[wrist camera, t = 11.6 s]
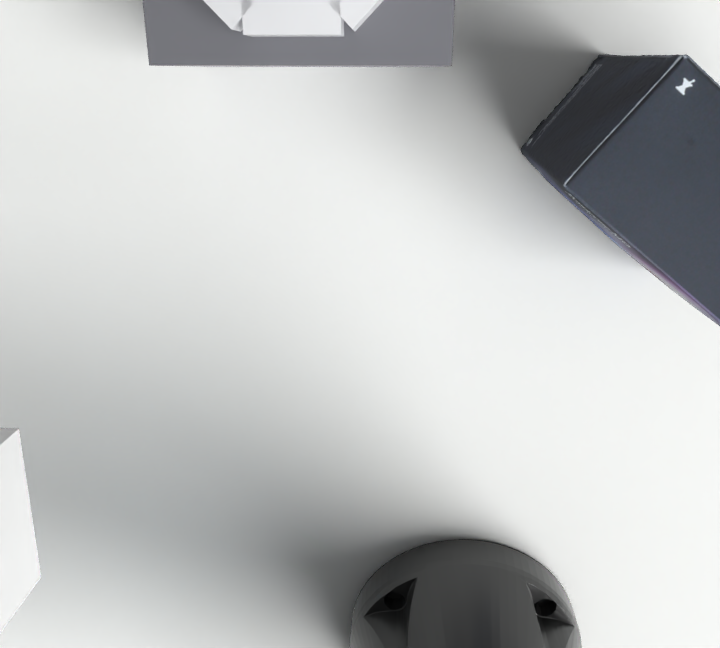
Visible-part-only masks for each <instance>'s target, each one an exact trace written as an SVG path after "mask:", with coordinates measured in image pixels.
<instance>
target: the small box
mask: <svg viewBox="0 0 720 648" xmlns="http://www.w3.org/2000/svg"><path fill="white" fill-rule="evenodd" d="M521 152H522V154H523V155H524V156H525V157H526V158H527V159H528V160H529V162H530V163H531V164H532V165H533V166H534V167H535V168H536V169H537V170H538V171H539V172H540V173H541V175H542V176H543V177H544V178H545V179H546V180H547V181H548V182H549V183H550V184H551V185H552V186H554V187H555V188H556V189H557V190H558V191H559V192H560V193H561V194H562V195H563V196H564V197H565V198H566V199H567V200H569V201H570V202H571V203H572V204H573V205H574V206H575V207H576V208H577V209H579V210H580V211H581V212H582V213H583V214H584V215H585V216H586V217H587V218H588V219H590V220H591V221H592V222H593V223H594V224H595V225H596V226H597V227H598V228H599V229H600V230H601V231H603V232H604V233H605V234H606V235H607V236H608V237H609V238H610V239H611V240H612V241H613V242H615V243H616V244H617V245H618V246H619V247H620V248H621V249H623V250H624V251H625V252H626V253H628V254H629V255H630V256H631V257H632V258H634V259H635V260H636V261H637V262H638V263H640V264H641V265H642V266H643V267H645V268H646V269H647V270H648V271H649V272H651V273H652V274H653V275H654V276H656V277H657V278H658V279H659V280H660V281H662V282H663V283H664V284H665V285H666V286H668V287H669V288H670V289H671V290H673V291H674V292H675V293H676V294H678V295H679V296H680V297H682V298H683V299H684V300H686V301H687V302H688V303H689V304H691V305H692V306H693V307H695V308H696V309H697V310H699V311H700V312H701V313H703V314H704V315H706V316H707V317H708V318H710V319H711V320H712V321H714V322H715V323H716V324H718V325H719V326H720V86H719V85H718V84H717V83H716V82H715V81H714V80H713V79H712V78H711V77H710V76H709V75H708V74H707V73H706V72H705V71H704V70H702V69H701V68H700V67H699V66H698V65H697V64H696V63H695V62H694V61H693V60H692V59H691V58H690V57H689V56H688V55H668V56H667V55H653V56H652V55H642V56H620V55H619V56H617V55H609V54H605V55H599V56H598V58H597V59H596V60H595V61H593V63H592V64H591V66H590V67H589V69H588V71H587V72H586V74H585V75H584V76H582V77H581V78H580V79H579V82H578V83H577V84H576V85H575V86H574V87H573V88H572V89H571V91H570V92H569V93H568V94H567V95H566V97H565V98H564V99H563V100H562V101H561V103H560V104H559V105H558V106H556V107H555V108H554V110H553V111H552V113H551V114H550V115H549V116H548V117H547V118H546V119H545V120H543V121H542V122H541V123H540V125H539V126H538V127H537V128H536V130H535V131H534V132H533V134H532V135H531V136H530V138H529V140H528V141H527V142H526V143H525V144H524V145H523V146H522V148H521Z"/></svg>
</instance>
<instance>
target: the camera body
mask: <svg viewBox="0 0 720 648" xmlns="http://www.w3.org/2000/svg"><path fill="white" fill-rule="evenodd" d="M454 7H455V0H143V8H144V18H145V27H146V37H147V47H148V57H149V65H156V66H256V67H444V66H452V50H453V28H454Z"/></svg>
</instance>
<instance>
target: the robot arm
mask: <svg viewBox="0 0 720 648" xmlns="http://www.w3.org/2000/svg"><path fill="white" fill-rule="evenodd" d="M40 578H41V571H40V564H39V557H38V551H37V544H36V538H35V531H34V525H33V518H32V511H31V505H30V498H29V492H28V485H27V479H26V472H25V465H24V459H23V452H22V446H21V439H20V432H19V429H17V428H0V633H1V632H2V631H3V629H4V628H5V627H6V625H7V624H8V622H9V621H10V620H11V618H12V617H13V616H14V614H15V613H16V611H17V610H18V609H19V607H20V606H21V605H22V603H23V602H24V600H25V599H26V598H27V596H28V595H29V594H30V592H31V591H32V589H33V588H34V587H35V585H36V584H37V583H38V581H39V580H40ZM350 648H582V645H581V637H580V632H579V628H578V625H577V622H576V618H575V615H574V612H573V609H572V606H571V603H570V600H569V598H568V596H567V594H566V592H565V590H564V589H563V587H562V586H561V584H560V583H559V582H558V580H557V579H556V578H555V577H554V576H553V575H552V574H551V573H550V572H549V571H548V570H547V569H546V568H545V567H543V566H542V565H541V564H540V563H538V562H537V561H535V560H534V559H532V558H530V557H529V556H527V555H525V554H523V553H521V552H519V551H516V550H514V549H511V548H509V547H506V546H502V545H499V544H495V543H490V542H484V541H476V540H450V541H441V542H436V543H431V544H427V545H423V546H420V547H417V548H414V549H412V550H409V551H407V552H405V553H403V554H401V555H399V556H397V557H395V558H394V559H392V560H391V561H389V562H388V563H386V564H385V565H384V566H382V567H381V568H380V569H379V570H378V571H377V572H376V573H375V574H374V575H373V576H372V577H371V578H370V579H369V580H368V582H367V583H366V584H365V586H364V587H363V589H362V590H361V592H360V594H359V596H358V598H357V600H356V603H355V606H354V610H353V615H352V624H351V635H350Z"/></svg>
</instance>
